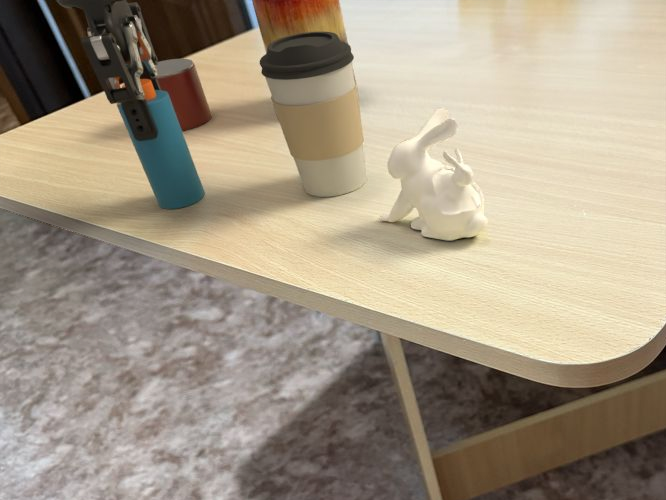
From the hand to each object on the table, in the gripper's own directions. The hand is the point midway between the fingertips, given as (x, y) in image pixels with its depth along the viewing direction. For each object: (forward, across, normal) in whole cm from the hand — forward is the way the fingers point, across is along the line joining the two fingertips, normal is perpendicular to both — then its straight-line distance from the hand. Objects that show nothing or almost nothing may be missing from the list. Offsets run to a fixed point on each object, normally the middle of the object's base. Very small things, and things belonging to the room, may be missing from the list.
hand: (153, 126), depth 71 cm
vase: (+8, -24, +16) cm, 30 cm away
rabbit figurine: (+8, +16, +27) cm, 32 cm away
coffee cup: (+8, +3, +17) cm, 19 cm away
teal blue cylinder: (+8, 0, 0) cm, 8 cm away
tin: (+8, -26, -3) cm, 27 cm away
